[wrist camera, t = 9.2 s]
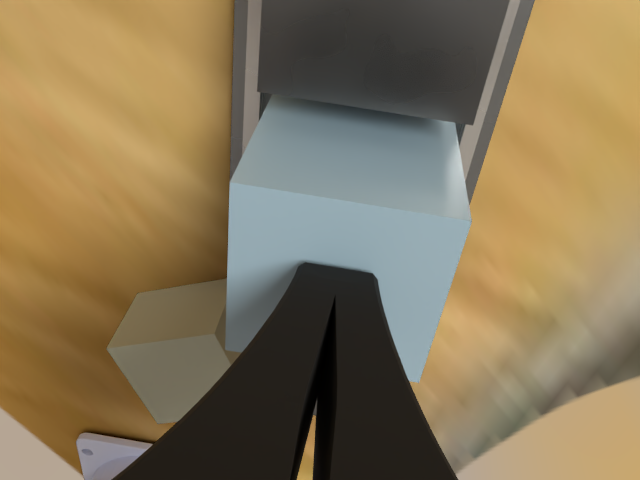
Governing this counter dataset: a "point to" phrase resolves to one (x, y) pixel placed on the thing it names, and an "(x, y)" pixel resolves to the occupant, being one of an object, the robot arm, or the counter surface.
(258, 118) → the rail base
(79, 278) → the counter surface
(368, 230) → the block
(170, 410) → the block
